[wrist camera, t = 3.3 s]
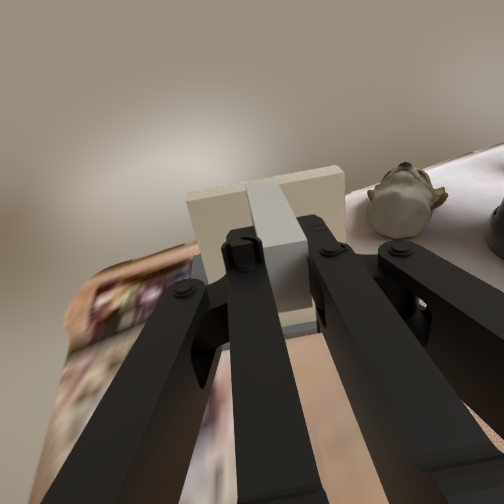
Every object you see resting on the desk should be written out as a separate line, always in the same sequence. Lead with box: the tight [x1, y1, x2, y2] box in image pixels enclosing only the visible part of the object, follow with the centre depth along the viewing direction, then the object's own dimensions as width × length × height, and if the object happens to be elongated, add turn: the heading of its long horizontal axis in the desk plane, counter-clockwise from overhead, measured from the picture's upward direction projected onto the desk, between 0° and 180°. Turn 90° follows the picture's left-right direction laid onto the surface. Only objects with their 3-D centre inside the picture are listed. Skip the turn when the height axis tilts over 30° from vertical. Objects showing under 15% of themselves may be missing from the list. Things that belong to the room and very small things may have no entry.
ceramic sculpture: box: [367, 162, 448, 239], centre depth 46 cm, size 11×9×15 cm
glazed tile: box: [186, 165, 346, 327], centre depth 30 cm, size 12×2×14 cm, turn 95°
